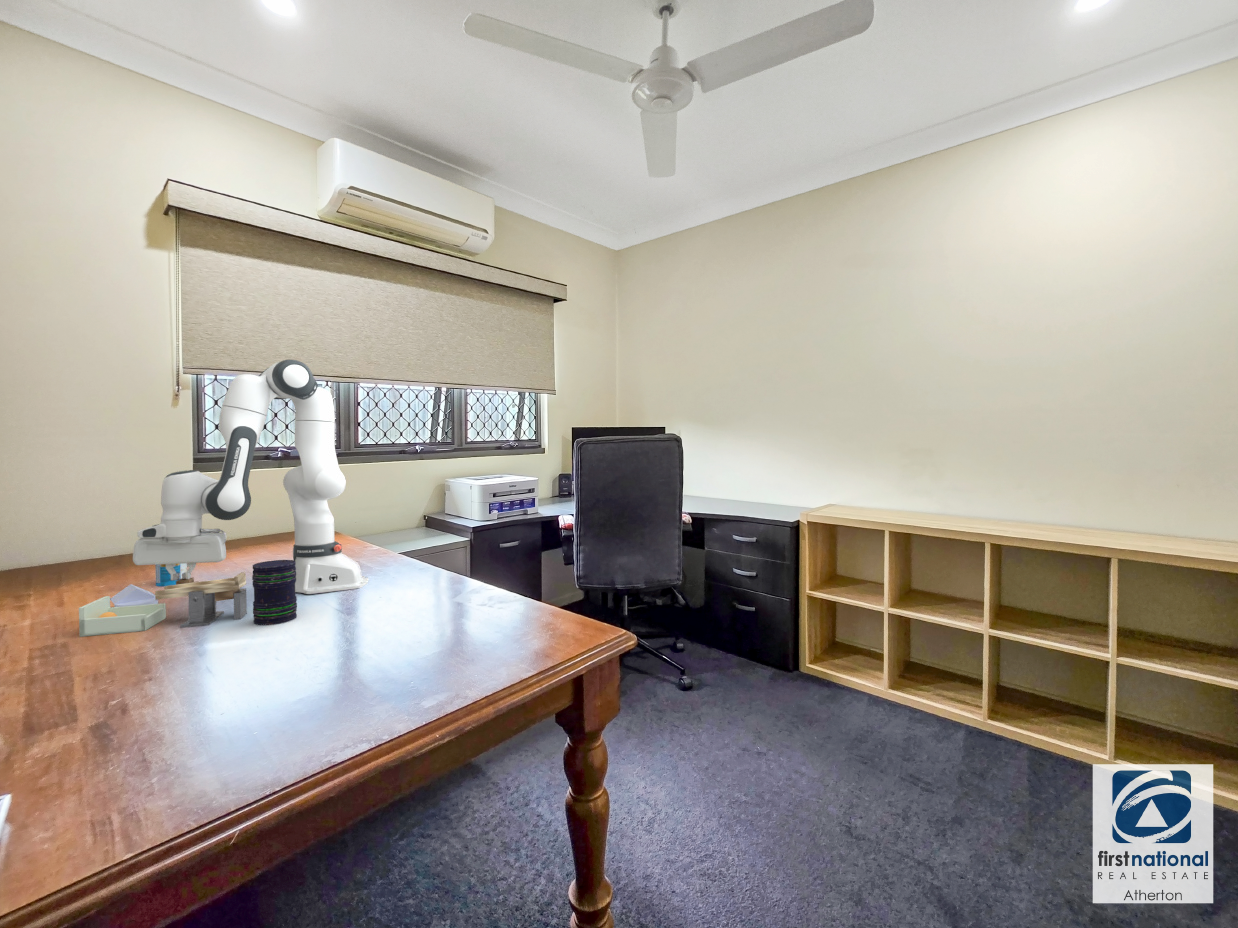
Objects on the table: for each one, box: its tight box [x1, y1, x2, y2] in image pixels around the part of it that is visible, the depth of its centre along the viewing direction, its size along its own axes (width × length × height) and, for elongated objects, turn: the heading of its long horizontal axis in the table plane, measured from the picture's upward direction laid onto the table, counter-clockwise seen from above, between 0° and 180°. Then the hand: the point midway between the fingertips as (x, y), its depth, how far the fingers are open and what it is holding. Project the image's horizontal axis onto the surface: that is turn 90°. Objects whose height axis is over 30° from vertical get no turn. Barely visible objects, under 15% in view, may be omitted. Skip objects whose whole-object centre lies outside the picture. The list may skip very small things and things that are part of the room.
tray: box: [78, 595, 167, 638], centre depth 137 cm, size 13×11×7 cm
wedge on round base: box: [110, 583, 159, 607], centre depth 150 cm, size 9×7×13 cm
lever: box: [154, 571, 247, 602], centre depth 146 cm, size 18×15×6 cm
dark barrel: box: [251, 559, 298, 626], centre depth 142 cm, size 10×10×15 cm
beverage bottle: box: [154, 563, 188, 587], centre depth 178 cm, size 8×8×20 cm
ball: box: [99, 612, 117, 618], centre depth 136 cm, size 4×4×4 cm
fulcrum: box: [179, 588, 248, 629], centre depth 143 cm, size 12×11×9 cm
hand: (180, 579), depth 148 cm, fingers closed
